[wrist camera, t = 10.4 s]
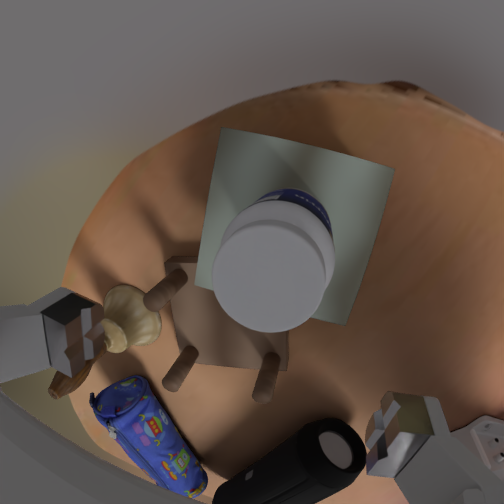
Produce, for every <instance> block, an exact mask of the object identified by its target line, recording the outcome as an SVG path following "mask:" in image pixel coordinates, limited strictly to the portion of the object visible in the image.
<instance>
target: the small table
mask: <svg viewBox="0 0 504 504" xmlns="http://www.w3.org/2000/svg"><path fill="white" fill-rule="evenodd" d="M394 171H395V169H393V168H390V167H387V166H384V165H381V164H377V163H374V162H371V161H367V160H364V159H360V158H357V157H353V156H350V155H346V154H343V153H339V152H335V151H331V150H327V149H324V148H320V147H316V146H311V145H307V144H303V143H299V142H295V141H290V140H286V139H281V138H277V137H272V136H267V135H262V134H257V133H252V132H247V131H241V130H236V129H230V128H224V127H221V132H220V137H219V142H218V147H217V152H216V157H215V163H214V168H213V173H212V179H211V184H210V190H209V195H208V201H207V207H206V213H205V219H204V225H203V231H202V237H201V243H200V250H199V256H198V263H197V269H196V276H195V283H194V285H196V286H199V287H203V288H206V289H210V290H213V285H212V266H213V262H214V259H215V256H216V254H217V252H218V250H219V249H220V244H221V240H222V237H223V235H224V232H225V230H226V228H227V227H228V225H229V224H230V223H231V221H232V220H233V219H234V218H235V217H236V216H237V215H238V214H239V213H240V212H241V211H243V210H244V209H246V208H247V207H248V206H250V205H251V204H252V203H254V202H255V201H257V200H258V199H259V198H261V197H262V196H264V195H265V194H267V193H269V192H271V191H274V190H277V189H281V188H296V189H300V190H303V191H306V192H308V193H310V194H311V195H313V196H314V197H315V198H317V199H318V200H319V201H320V202H321V203H322V205H323V206H324V208H325V209H326V211H327V213H328V215H329V218H330V222H331V228H332V234H333V241H334V248H335V267H334V271H333V275H332V278H331V281H330V283H329V285H328V286H327V288H326V290H325V291H324V295H323V298H322V300H321V303H320V305H319V306H318V308H317V310H316V311H315V312H314V314H313V315H312V316H311V318H315V319H319V320H323V321H327V322H331V323H335V324H339V325H343V326H346V323H347V320H348V318H349V315H350V312H351V310H352V307H353V304H354V302H355V299H356V296H357V293H358V291H359V288H360V285H361V282H362V279H363V276H364V273H365V270H366V267H367V264H368V261H369V258H370V255H371V252H372V249H373V246H374V242H375V239H376V236H377V233H378V229H379V226H380V223H381V219H382V216H383V212H384V209H385V205H386V202H387V198H388V194H389V190H390V187H391V183H392V179H393V175H394ZM213 291H214V290H213Z"/></svg>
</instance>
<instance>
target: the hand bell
mask: <svg viewBox="0 0 504 504" xmlns="http://www.w3.org/2000/svg"><path fill="white" fill-rule="evenodd" d="M144 295H145V293H143V292H142V291H141V290H139V289H137V288H135V287H132V286H129V285H119V286H116V287H114V288H112V289H111V290H110V291H109V292H108V293H107V295H106V297H105V300H104V306H103V307H104V319H103V320H102V321H101V324H102V326H103V328H104V330H105V340H104V345H103V347H102V349H101V351H100V353H99V354H98V355H97V356H96V357H95V358H93V359H88V360H85V367H84V368H83V369H82V370H81V371H79V372H78V373H77V374H76V375H75V376H74V377H73V378H71V377H69V376H67V375H65V374H63V373H62V372H60V371H58V370H57V372H56V374H55V376H54V378H53V381H52V383H51V385H50V387H49V388H48V392H49V394H50V395H51V396H52V397H53V398H54V399H59V398H61V397H62V396H64V395H67V394H69V393H71V392H73V391H75V390H76V389H77V388H78V387H79V386H80V385H81V384H82V383H83V382H84V381H85V379H86V378H87V376H88V374H89V372H90V370H91V367H92V365H93V364H94V363H95V362H96V360H98V359H99V358H100V357H101V356H102V355H103V354H104V353H105V352H106V351H107V350H108V351H110V352H112V353H121V352H123V351H124V350H125V349H127V348H128V347H130V346H131V345H136V346H145V345H149V344H151V343H153V342H154V341H155V340H156V339H157V338H158V337H159V335H160V332H161V318H160V314H159V312H151V311H149V310H148V309H147V308H146V307H145V305H144V303H143V297H144Z"/></svg>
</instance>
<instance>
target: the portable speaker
mask: <svg viewBox="0 0 504 504" xmlns="http://www.w3.org/2000/svg"><path fill="white" fill-rule="evenodd" d="M366 455H367V452H366V448H365V445H364V443H363V441H362V439H361V438H360V436H359V435H358V434H357V433H356V431H355V430H354V429H353V428H352V427H350V426H349V425H348V424H346V423H345V422H343V421H341V420H338V419H334V418H326V419H323V420H319V421H316V422H312V423H309V424H306V425H305V426H303V427H302V428H301V429H300V430H299V431H298V432H297V433H295V434H294V435H293V436H291V437H290V438H289V439H287V440H286V441H285V442H283V443H282V444H281V445H279V446H278V447H277V448H275V449H274V450H273V451H271V452H270V453H268V454H267V455H266V456H264V457H263V458H261V459H260V460H259V461H257V462H256V463H254V464H253V465H251V466H250V467H248V468H247V469H245V470H244V471H242V472H241V473H239V474H238V475H236V476H235V477H233V478H232V479H230V480H228V481H227V482H224V483H223V484H221V485H220V486H219V487H218V489H217V490H216V492H215V495H214V498H213V501H212V504H315V503H317V502H319V501H321V500H323V499H325V498H327V497H329V496H331V495H333V494H335V493H337V492H339V491H340V490H342V489H344V488H346V487H348V486H349V485H350V484H352V483H353V482H354V480H355V479H356V478H357V476H358V475H359V474H360V472H361V471H362V470H363V468H364V467H365V465H366Z"/></svg>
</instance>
